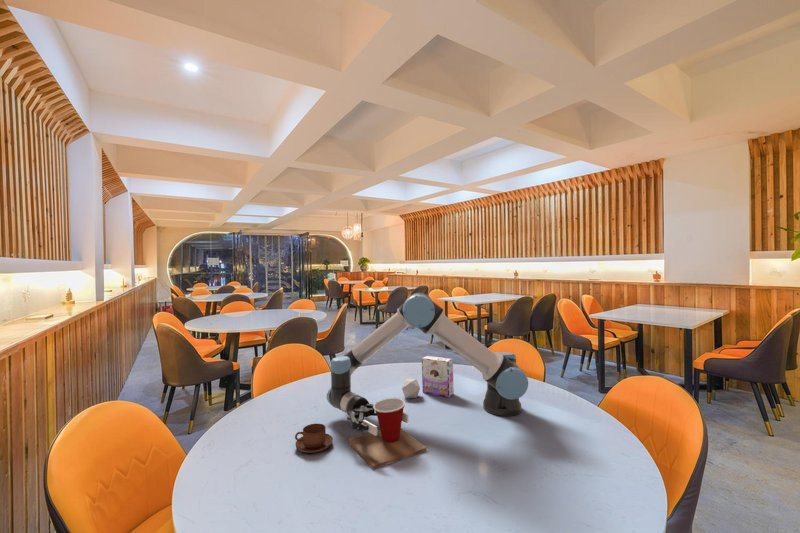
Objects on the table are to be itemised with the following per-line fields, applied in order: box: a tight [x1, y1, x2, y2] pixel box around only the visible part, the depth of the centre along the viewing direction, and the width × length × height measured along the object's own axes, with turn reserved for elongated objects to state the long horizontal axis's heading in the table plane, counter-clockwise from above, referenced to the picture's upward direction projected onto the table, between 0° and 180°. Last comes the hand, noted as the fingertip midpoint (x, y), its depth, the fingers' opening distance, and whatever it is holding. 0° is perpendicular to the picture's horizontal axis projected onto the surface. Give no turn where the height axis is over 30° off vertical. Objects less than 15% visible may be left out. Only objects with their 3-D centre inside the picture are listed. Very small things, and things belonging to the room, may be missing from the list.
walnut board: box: [347, 428, 427, 470], centre depth 115 cm, size 19×19×1 cm
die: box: [401, 378, 421, 399], centre depth 160 cm, size 8×9×10 cm
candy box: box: [421, 355, 455, 398], centre depth 164 cm, size 14×6×16 cm, turn 58°
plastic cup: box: [373, 397, 406, 443], centre depth 118 cm, size 11×11×12 cm
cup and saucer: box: [294, 423, 334, 454], centre depth 116 cm, size 12×12×6 cm
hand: (392, 424), depth 113 cm, fingers open, 12 cm apart
